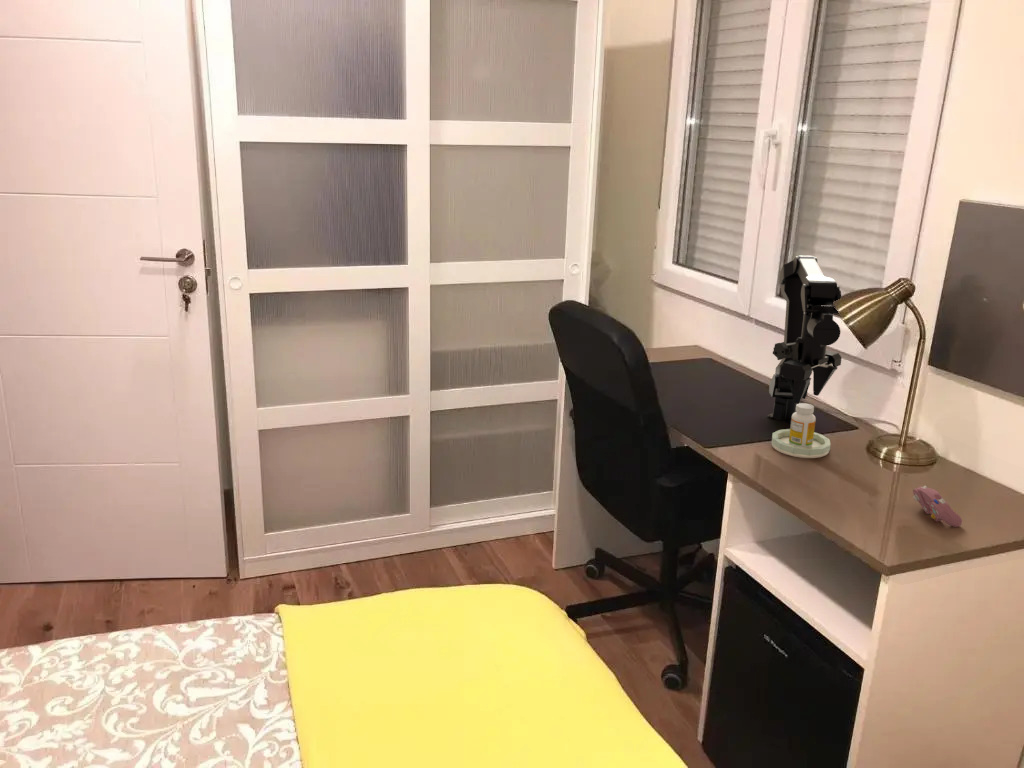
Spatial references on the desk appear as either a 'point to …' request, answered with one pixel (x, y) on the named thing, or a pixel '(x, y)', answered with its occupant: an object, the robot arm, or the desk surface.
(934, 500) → the video game controller
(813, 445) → the round dish
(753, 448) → the desk surface
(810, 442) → the supplement bottle
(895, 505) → the desk surface
